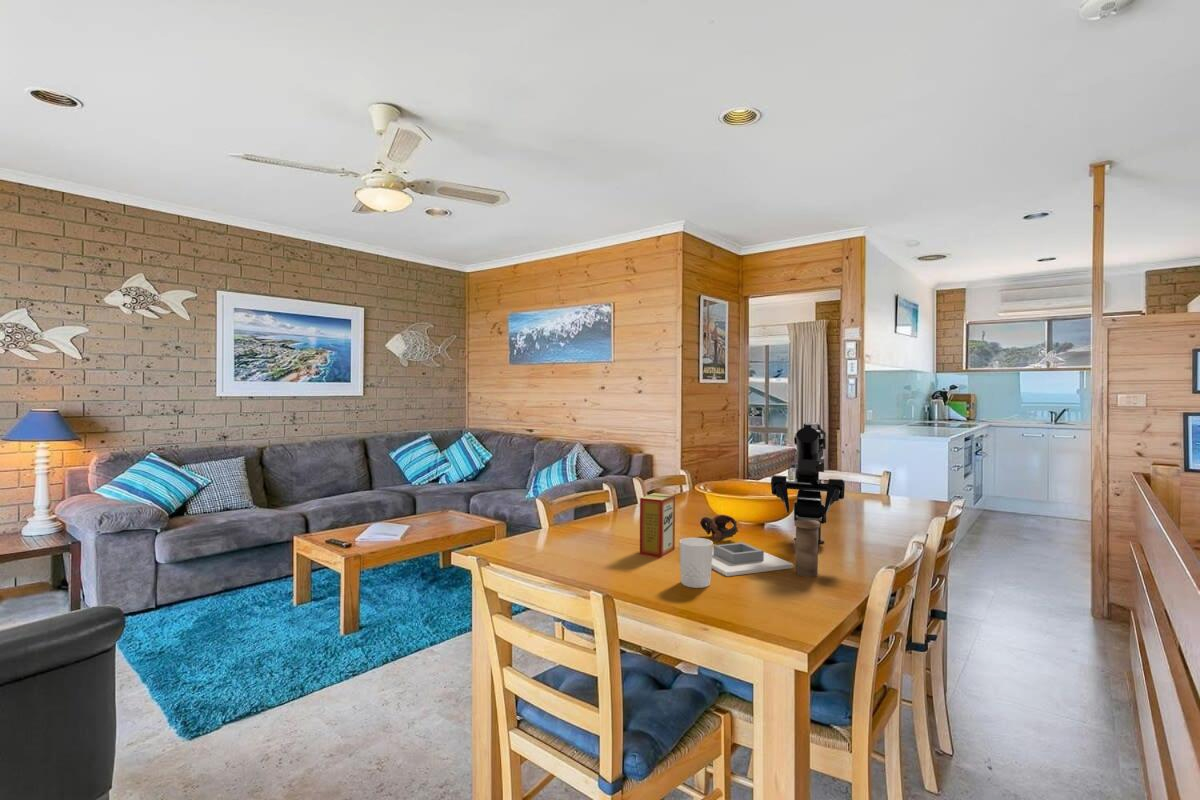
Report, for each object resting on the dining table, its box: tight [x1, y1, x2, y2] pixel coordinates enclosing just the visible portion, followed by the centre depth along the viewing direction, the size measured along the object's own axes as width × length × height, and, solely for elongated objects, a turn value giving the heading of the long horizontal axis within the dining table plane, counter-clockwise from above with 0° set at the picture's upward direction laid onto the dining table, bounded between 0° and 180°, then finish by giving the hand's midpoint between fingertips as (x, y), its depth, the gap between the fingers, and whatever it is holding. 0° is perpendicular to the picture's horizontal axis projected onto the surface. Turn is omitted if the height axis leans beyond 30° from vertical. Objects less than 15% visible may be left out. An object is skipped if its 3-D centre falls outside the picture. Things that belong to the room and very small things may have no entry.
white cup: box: [678, 537, 714, 589], centre depth 142 cm, size 8×8×10 cm
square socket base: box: [711, 541, 794, 577], centre depth 161 cm, size 20×20×4 cm
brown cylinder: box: [793, 519, 820, 578], centre depth 150 cm, size 6×6×13 cm
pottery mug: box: [699, 514, 739, 543], centre depth 185 cm, size 12×10×8 cm
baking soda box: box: [639, 492, 676, 558], centre depth 170 cm, size 10×6×16 cm
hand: (806, 513), depth 158 cm, fingers open, 9 cm apart
